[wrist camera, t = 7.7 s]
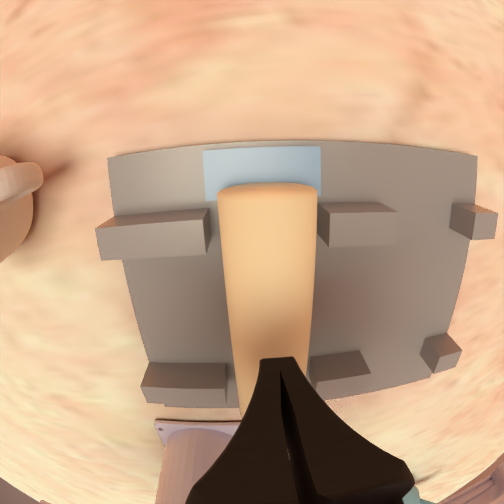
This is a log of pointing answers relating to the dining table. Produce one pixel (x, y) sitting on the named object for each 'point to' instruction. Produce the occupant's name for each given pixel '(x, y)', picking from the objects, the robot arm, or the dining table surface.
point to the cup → (16, 202)
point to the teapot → (414, 497)
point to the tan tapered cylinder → (268, 274)
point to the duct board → (326, 261)
